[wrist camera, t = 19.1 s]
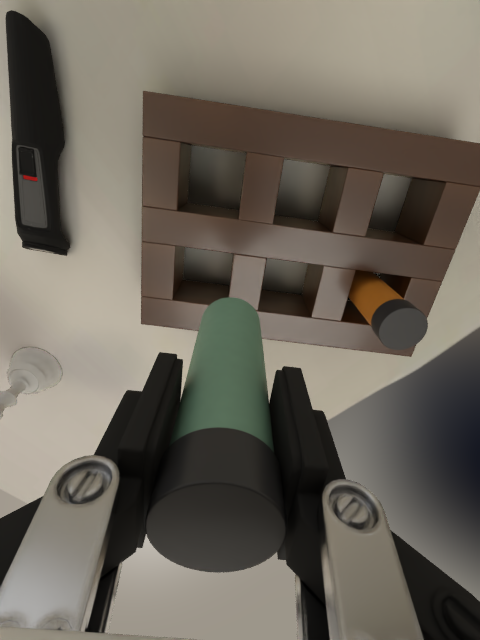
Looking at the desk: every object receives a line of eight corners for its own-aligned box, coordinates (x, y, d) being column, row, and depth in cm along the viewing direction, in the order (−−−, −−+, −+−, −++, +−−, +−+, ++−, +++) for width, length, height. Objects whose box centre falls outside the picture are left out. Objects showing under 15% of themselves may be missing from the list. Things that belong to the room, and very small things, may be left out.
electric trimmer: (70, 35, 23) (45, 16, 20) (74, 255, 29) (55, 265, 26) (13, 22, 23) (-21, 1, 20) (29, 247, 29) (6, 256, 26)
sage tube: (202, 290, 15) (144, 475, 6) (266, 298, 16) (300, 489, 6) (197, 347, 17) (143, 568, 8) (256, 354, 17) (274, 578, 8)
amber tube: (343, 260, 29) (387, 304, 20) (376, 264, 30) (435, 310, 20) (334, 292, 31) (372, 347, 22) (366, 296, 31) (417, 352, 22)
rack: (161, 103, 24) (142, 90, 20) (453, 148, 26) (498, 146, 21) (155, 300, 31) (140, 324, 27) (387, 329, 32) (411, 357, 28)
